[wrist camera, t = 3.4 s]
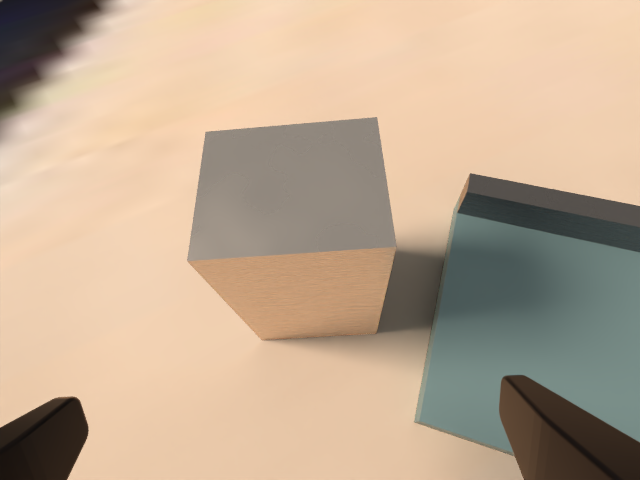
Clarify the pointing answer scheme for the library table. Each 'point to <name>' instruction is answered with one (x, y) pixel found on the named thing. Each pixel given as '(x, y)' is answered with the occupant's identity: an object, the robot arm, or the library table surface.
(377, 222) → the aluminium block
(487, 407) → the lipped steel plate
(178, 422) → the library table surface
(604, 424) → the robot arm
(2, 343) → the library table surface
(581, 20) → the library table surface
